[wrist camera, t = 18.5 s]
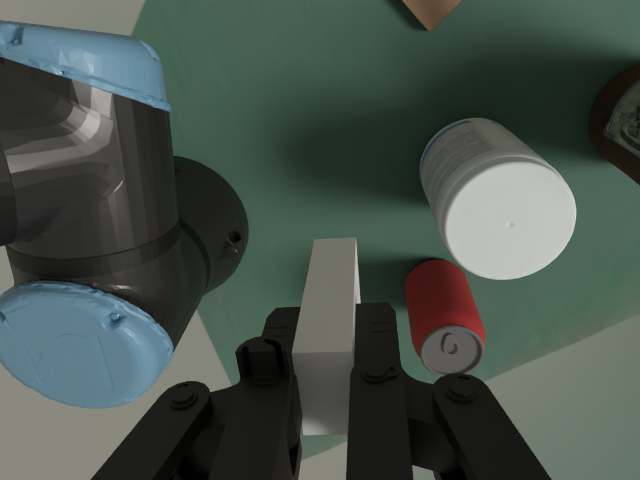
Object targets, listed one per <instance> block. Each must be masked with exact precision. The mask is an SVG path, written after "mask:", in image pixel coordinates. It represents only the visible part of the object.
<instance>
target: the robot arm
mask: <svg viewBox="0 0 640 480" xmlns="http://www.w3.org/2000/svg"><path fill="white" fill-rule="evenodd" d="M169 112H171V105H170V104H169V103H168V102H167V96H166V90H165V83H164V76H163V69H162V63H161V60H160V57H159V55H158V54H157V52H156V51H155V49H154V48H153V47H152V46H151V45H149V44H148V43H147V42H145V41H144V40H141V39H139V38H136V37H131V36H125V35H118V34H110V33H103V32H94V31H87V30H79V29H70V28H61V27H53V26H45V25H37V24H28V23H19V22H11V21H2V20H0V246H4V245H5V247H6V250H7V254H8V258H9V262H10V266H11V270H12V273H13V277H14V286H13V287H12V288H10V289H9V290H7V291H6V292H4V293H3V294H2V295H1V296H0V362H1V364H2V365H3V366H4V367H5V368H6V369H7V370H8V371H9V372H10V373H11V374H12V375H13V376H14V377H15V378H16V379H17V380H19V381H20V382H21V383H23V384H24V385H25V386H27V387H29V388H31V389H33V390H35V391H37V392H38V393H40V394H41V395H43V396H45V397H47V398H49V399H52V400H55V401H57V402H60V403H64V404H67V405H71V406H76V407H82V408H110V407H116V406H121V405H124V404H126V403H129V402H132V401H134V400H136V399H137V398H138V397H139V396H142V395H143V394H144V393H146V392H147V391H148V390H149V389H150V388H151V387H152V386H153V384H154V383H155V382H156V380H157V379H158V378H159V376H160V375H161V373H162V372H163V371H164V370H165V369H166V368H167V367H168V364H169V363H170V362H171V359H172V357H173V352H174V350H175V348H176V346H177V344H178V343H179V341H180V339H181V337H182V335H183V333H184V331H185V329H186V327H187V325H188V323H189V321H190V320H191V318H192V316H193V314H194V312H195V310H196V308H197V306H198V304H199V303H200V301H201V299H202V296H204V295H205V294H207V293H209V292H210V291H212V290H213V289H215V288H217V287H218V286H220V285H221V284H223V283H224V282H225V281H226V280H227V279H228V278H229V277H230V276H231V275H232V274H233V273H234V271H235V270H236V268H237V267H238V265H239V263H240V261H241V259H242V257H243V254H244V252H245V249H246V246H247V242H248V220H247V216H246V212H245V209H244V207H243V204H242V202H241V200H240V199H239V197H238V195H237V194H236V192H235V191H234V189H233V188H232V187H231V186H230V185H229V183H228V182H227V181H226V180H225V179H224V178H222V177H221V176H220V175H219V174H217V173H216V172H215V171H213V170H212V169H210V168H208V167H207V166H205V165H203V164H201V163H198V162H196V161H193V160H190V159H186V158H181V157H173V148H172V138H171V128H170V118H169ZM235 353H236V358H237V363H238V368H239V373H240V381H239V383H237V384H236V385H234V386H231V387H228V388H225V389H222V390H218V391H214V392H210V391H209V388H208V387H207V386H206V385H205V384H203V383H200V382H197V381H187V382H183V383H179V384H176V385H174V386H172V387H170V388H168V389H167V390H166V391H165V392H164V393H163V394H162V395H161V396H160V397H159V398H158V399H157V401H156V402H155V403H154V404H153V405H152V407H151V408H150V409H149V410H148V411H147V413H146V414H145V415H144V416H143V417H142V419H141V420H140V421H139V422H138V423H137V425H136V426H135V427H134V428H133V429H132V431H131V432H130V433H129V434H128V435H127V437H126V438H125V439H124V440H123V441H122V443H121V444H120V445H119V446H118V447H117V449H116V450H115V451H114V452H113V454H112V455H111V456H110V457H109V458H108V459H107V461H106V462H105V463H104V464H103V466H102V467H101V468H100V469H99V470H98V472H97V473H96V474H95V475H94V476H93V477H92V479H91V480H298V477H299V470H300V462H301V455H302V447H301V440H300V432H301V425H302V427H303V434H304V435H348V445H347V446H348V447H347V471H346V480H413V471H412V465H415V466H418V467H422V468H425V469H429V470H432V471H433V473H434V477H435V479H436V480H551V478H550V477H549V475H548V474H547V472H546V471H545V470H544V468H543V467H542V465H541V464H540V462H539V461H538V459H537V458H536V456H535V455H534V453H533V452H532V451H531V449H530V448H529V446H528V445H527V443H526V442H525V440H524V439H523V437H522V436H521V435H520V433H519V432H518V430H517V429H516V427H515V426H514V424H513V423H512V421H511V420H510V418H509V417H508V416H507V414H506V413H505V411H504V410H503V408H502V407H501V405H500V404H499V402H498V401H497V400H496V398H495V397H494V395H493V394H492V392H491V391H490V389H489V388H488V387H487V385H485V383H483V382H482V381H481V380H480V379H478V378H476V377H474V376H472V375H467V374H462V373H454V374H448V375H445V376H442V377H440V378H439V379H438V380H437V381H436V382H435V383H434V384H429V383H424V382H421V381H418V380H416V379H414V378H412V377H410V376H409V375H408V374H407V373H405V371H404V370H403V368H402V366H401V362H400V352H399V342H398V332H397V323H396V313H395V310H394V309H393V308H392V307H391V306H390V304H389V303H388V302H383V303H361V301H360V288H359V274H358V260H357V246H356V237H352V238H334V239H315V240H314V245H313V250H312V255H311V259H310V264H309V269H308V274H307V279H306V284H305V289H304V294H303V299H302V304H301V307H286V308H276V309H275V310H274V311H273V312H272V313H271V314H270V315H269V316H268V317H267V320H266V323H265V326H264V330H263V333H262V336H260V337H255V338H252V339H250V340H247V341H245V342H244V343H243V344H241V345H240V346H239V347H238V349H237V350H236V352H235Z"/></svg>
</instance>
